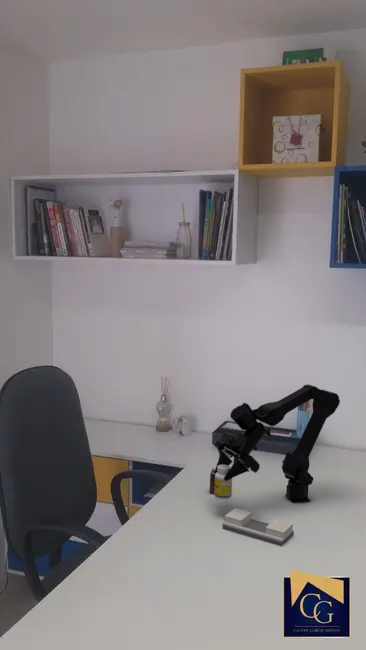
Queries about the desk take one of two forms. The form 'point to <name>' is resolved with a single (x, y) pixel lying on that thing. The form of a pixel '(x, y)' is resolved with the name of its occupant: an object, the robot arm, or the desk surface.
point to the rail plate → (258, 527)
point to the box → (212, 482)
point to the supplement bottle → (222, 483)
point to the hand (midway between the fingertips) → (219, 476)
